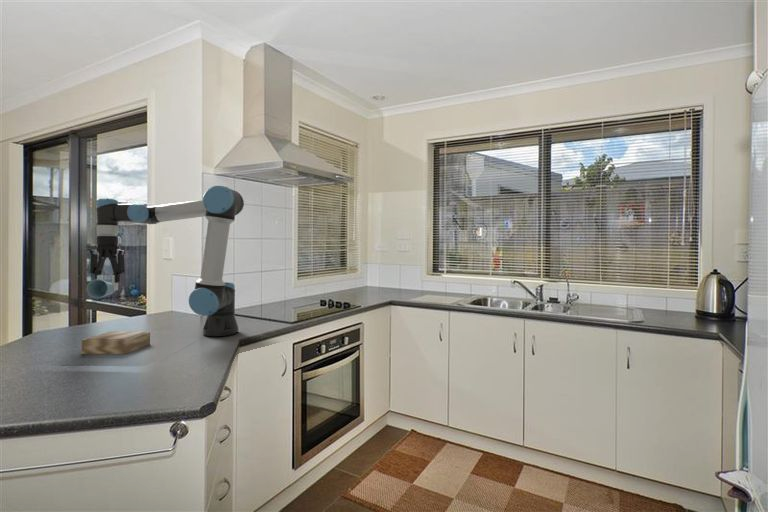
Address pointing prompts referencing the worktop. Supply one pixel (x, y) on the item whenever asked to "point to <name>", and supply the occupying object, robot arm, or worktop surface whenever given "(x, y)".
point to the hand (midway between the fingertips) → (107, 290)
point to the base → (115, 342)
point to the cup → (99, 288)
